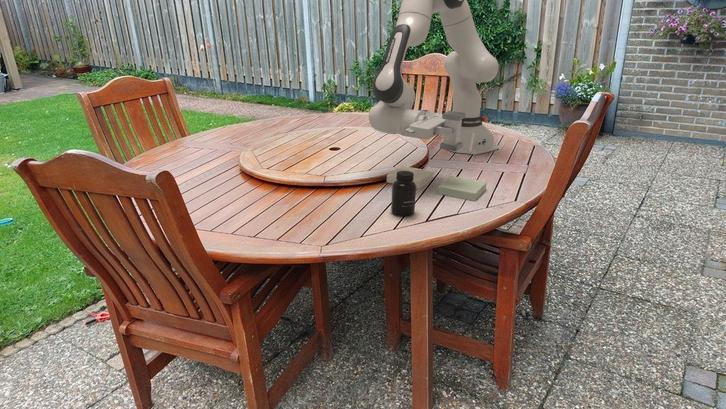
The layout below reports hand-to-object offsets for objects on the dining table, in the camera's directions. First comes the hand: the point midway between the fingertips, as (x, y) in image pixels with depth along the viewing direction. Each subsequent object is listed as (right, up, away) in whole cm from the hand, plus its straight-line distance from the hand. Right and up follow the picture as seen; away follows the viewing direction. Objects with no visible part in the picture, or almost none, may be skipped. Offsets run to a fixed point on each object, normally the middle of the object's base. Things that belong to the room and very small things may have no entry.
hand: (455, 129), depth 152 cm
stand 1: (-13, -15, +15) cm, 25 cm away
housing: (-1, -5, +3) cm, 6 cm away
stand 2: (+3, -19, +6) cm, 20 cm away
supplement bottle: (-17, -26, -11) cm, 33 cm away
